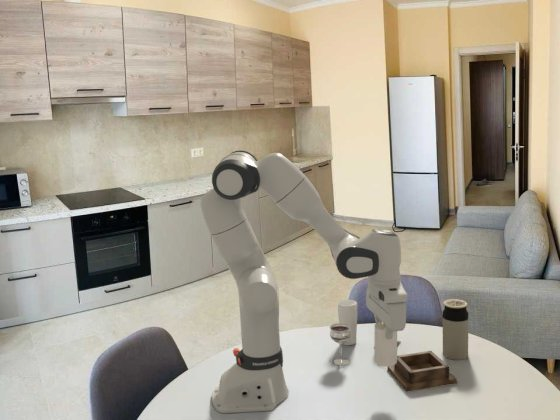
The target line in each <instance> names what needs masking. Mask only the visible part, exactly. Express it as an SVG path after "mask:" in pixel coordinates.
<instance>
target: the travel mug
mask: <svg viewBox="0 0 560 420" xmlns="http://www.w3.org/2000/svg"><path fill="white" fill-rule="evenodd" d="M443 307H444V309H443V310H442V355H443V356H444V357H446V358H447V359H450V360H456V361H457V360H458V361H459V360H460V361H461V360H463V359H464V360H465V359H466V358H467V357H469V312H468V310H467V307H468V303H467V302H466V300H463V299H455V298H452V299H446V300H444V301H443Z"/></svg>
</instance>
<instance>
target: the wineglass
mask: <svg viewBox="0 0 560 420" xmlns="http://www.w3.org/2000/svg"><path fill="white" fill-rule="evenodd" d="M329 328H330V330H329V337H330V339H331V340H332V341H333V342H335V343H337V344H338V346H339V354H340V355H339V356H340V358H336V359H335V360H333V363H334V364H335V365H337V366H345V365H348V364H350V361H349V359H347V358H343V353H342V351H343V349H342V348H343V345H344V344H343V343H344V342H346V341H347V340H348V339H349V338H350V335H351V332H350V330H349V329H350V326H349V325H347V324H342V323H339V322H338V323H333V324H331V325H330V326H329Z"/></svg>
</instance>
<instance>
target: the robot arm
mask: <svg viewBox="0 0 560 420" xmlns="http://www.w3.org/2000/svg"><path fill="white" fill-rule="evenodd" d="M211 185H212V187H213V188H212V189H209V190H208V191H207V192H206V193H204V195H203V196H202V198H201V200H200V207H201V208H200V209H201V212H202V215H203V219H204V221H205V224H206V226H207V229H208V231H209V234H210V236H211V237H212V240H213V242H214V244H215V246H216V248H217V250H218V253H219V254H220V256H221V259H222V260H223V262H224V263H225V265H226V266H227V268H228V269H229V272H230V273H231V275H232V277H233V279H234V281H235V283H236V286H237V291H238V292H237V293H238V303H239V316H240V317H239V319H240V334H241V336H240V337H241V345H242V346H241V348H242V349H241V350H240V349H239V348H238V347H236V348H235V347H234V349H233V350H232V353H233V356H234V357H235V361H236V362H235V363H234V364H233V365H232V366H231V367H230V368H228V369H227V370H226V371H224V372H223V373H222V374H221V377H220V380H219V384H218V386H217V387H215V388H214V389H213V392H212V395H211V402H212V405H213V408H214V410H215V411H217V412H218V413H220V414H231V413H249V412H251V413H252V412H267V411H270V412H271V411H273V410H274V409H275V408H276V407H277V405H279V404H280V403H282V402H283V401H284V400H286V399H287V397H288V396H289V388H288V386H287V383H286V380H285V375H284V370H283V365H284V355H283V349H282V347H281V336H280V335H281V334H280V291H279V286H278V282H277V280H276V277H275V275H274V271H273V270H272V267H271V265H270V263H269V261H268V259H267V257H266V255H265V253H264V251H263V248H262V247H261V245H260V243H259V241H258V238H257V237H256V234H255V232H254V230H253V227H252V226H251V223H250V221H249V219H248V217H247V215H246V212H245V210H244V208H243V206H242V202H241V201H242V200H241V199H242V198H245V197H247V196H249V195H251V194H255V193H257V192H258V190H260V191H262V192H264V193H265V194H266V195H267V196H268V197H269V198H270V199H271V201H273V203H274V204H275V205H276V206H277V207H278V208H279V209H280V210H281V211H282V212H283V213H285V215H287V216H288V217H289V218H291V219H292V220H295V221H301V222H304V223H307V224H308V225H309V226H310V227H311V228H313V230H314V231H315V232H316V233H317V234H318V235H319V236H320V237H321V238H322V239H323V241H324V242H326V244H327V245H328V246H329V249H330V252H331V253H330V254H331V256H332V259H333V260H334V263H335V266H336V268H337V269H336V270H337V271H338V272H339V273H340V275H342V276H343V277H345V278H346V279H350V280H351V279H352V280H355V279H357V280H358V279H362V278H367V277H368V280H367V281H368V284H367V287H366V293H365V296H366V297H365V304H366V308H367V309H369V311H371V313H373V315H374V316H373V317H374V320H375V324H376V323H379V322H383V323H384V324H385V325H386V328H387V329H386V332H385V337H386V339H392V338H393V332H394V331H397V332H400V331H404V330H405V328H406V325H407V304H406V302H408V300H409V299H408V297H409V296H408V293H407V292H406V290H405V288H404V286H403V283H402V282H401V281H402V277H401V275H402V274H401V273H400V272H401V271H400V267H401V265H402V263H401V262H402V247H401V241H400V237H399V236H398V234H396V233H395V232H393V230H392V231H391V230H389V229H384V228H374V229H371V230H370V231H369V232H367V234H365V235H363V236H362V237H361V236H358V235H356V234H354V233H352V232H350V231H347V230H345V228H344V227H343V226H341V224H339V222H338V221H337V220H336V219H335V218H334V217H333V216H332V215H331V214H330V212H329V211H328V210H327V209H326V207H325V205H324V204H323V201H322V199H321V195H320V194H319V193H318V191H317V189H316V188H315V186H314V184H313V183H312V182H311V181H310V180H309V178H308V177H307V176H306V175H305V173H304V172H303V171H302V170H301V169H299V167H298V166H296V165H295V164H294V163H293V162H292V161H291V160H290V159H288V158H287V157H286V156H284V155H283V154H282V153H279V152H272V153H269V154H267V155H265V156H263V157H262V158H261V159H259V160H258V159H257V157H256V156H255V155H253V154H252V153H251V152H249V151H246V150H235V151H232V152H230V153H229V154H227V155H226V156H224V157H223V158H222V159H221V160H220V162H219V163H218V164H217V165H216V166H215V167H214V169H213V172H212V176H211Z"/></svg>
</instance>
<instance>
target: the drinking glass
mask: <svg viewBox="0 0 560 420" xmlns="http://www.w3.org/2000/svg"><path fill="white" fill-rule="evenodd" d="M337 316H338V323H342V324H347V325H349V326H350V329H349V330H350V332H351V335H350V338H349V339H348V340H347V341H346V342H344V343H343V344H342V345H344V346H353V345H355V344H357V330H358V329H357V327H358V302H357V301H356V300H353V299H342V300H340V301H338V302H337Z"/></svg>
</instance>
